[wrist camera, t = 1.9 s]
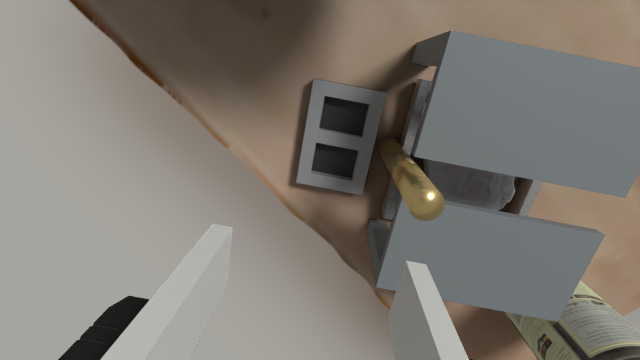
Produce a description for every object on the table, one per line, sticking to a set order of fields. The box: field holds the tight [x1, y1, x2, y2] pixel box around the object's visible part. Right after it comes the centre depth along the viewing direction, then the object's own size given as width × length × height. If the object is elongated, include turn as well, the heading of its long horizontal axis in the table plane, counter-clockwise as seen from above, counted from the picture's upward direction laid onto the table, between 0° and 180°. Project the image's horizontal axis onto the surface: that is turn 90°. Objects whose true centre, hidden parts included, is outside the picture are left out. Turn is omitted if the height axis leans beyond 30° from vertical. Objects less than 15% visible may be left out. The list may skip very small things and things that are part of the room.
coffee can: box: [505, 280, 640, 360], centre depth 36 cm, size 10×10×14 cm
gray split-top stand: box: [367, 31, 640, 322], centre depth 32 cm, size 23×18×11 cm
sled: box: [379, 79, 542, 221], centre depth 29 cm, size 16×18×17 cm
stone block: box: [423, 159, 516, 211], centre depth 36 cm, size 12×5×10 cm
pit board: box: [296, 78, 387, 195], centre depth 37 cm, size 12×8×2 cm, turn 170°
